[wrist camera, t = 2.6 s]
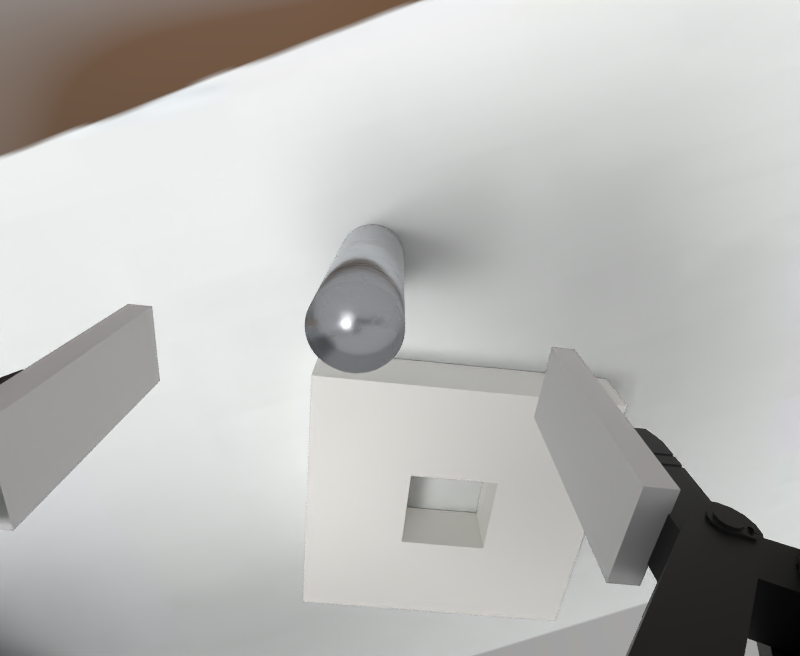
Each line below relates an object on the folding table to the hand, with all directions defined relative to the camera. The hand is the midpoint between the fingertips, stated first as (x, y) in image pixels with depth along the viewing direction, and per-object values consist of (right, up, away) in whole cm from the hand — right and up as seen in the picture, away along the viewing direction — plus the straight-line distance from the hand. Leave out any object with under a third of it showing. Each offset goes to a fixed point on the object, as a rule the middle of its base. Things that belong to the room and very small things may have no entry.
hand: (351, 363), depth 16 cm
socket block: (+5, -11, +21) cm, 24 cm away
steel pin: (0, +6, +14) cm, 15 cm away
